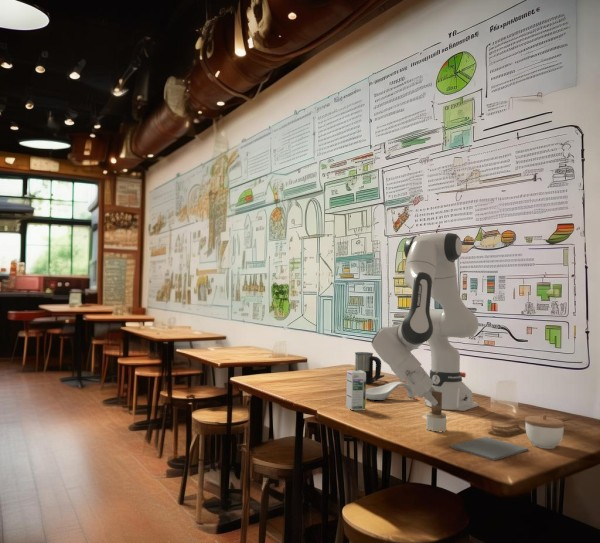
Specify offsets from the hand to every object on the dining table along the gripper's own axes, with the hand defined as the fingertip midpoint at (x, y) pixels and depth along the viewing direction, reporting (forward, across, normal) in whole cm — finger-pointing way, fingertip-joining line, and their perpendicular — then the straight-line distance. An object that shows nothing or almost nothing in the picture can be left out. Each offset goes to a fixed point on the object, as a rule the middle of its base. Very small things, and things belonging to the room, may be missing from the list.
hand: (437, 401), depth 172 cm
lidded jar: (+29, -4, -16) cm, 33 cm away
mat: (+18, -15, -5) cm, 24 cm away
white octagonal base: (+6, 0, +7) cm, 9 cm away
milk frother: (-22, +84, +35) cm, 94 cm away
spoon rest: (-10, +45, +24) cm, 52 cm away
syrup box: (-16, +18, +29) cm, 37 cm away
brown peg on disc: (+3, 0, +4) cm, 5 cm away
